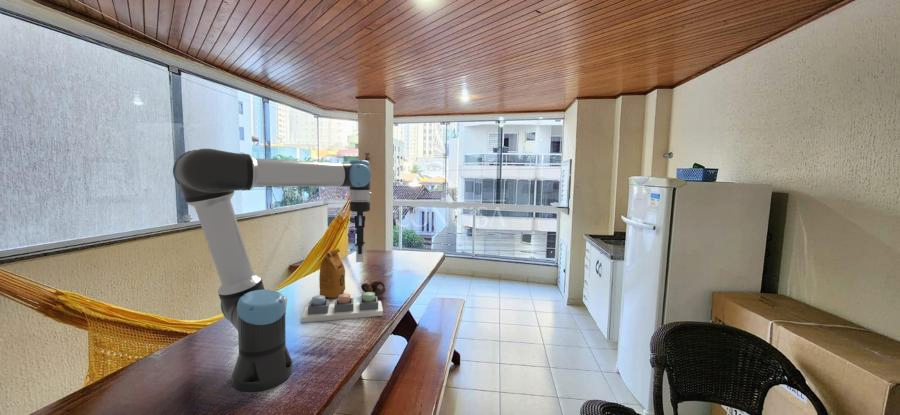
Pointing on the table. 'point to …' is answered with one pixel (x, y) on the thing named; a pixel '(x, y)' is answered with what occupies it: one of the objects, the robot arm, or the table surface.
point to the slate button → (318, 300)
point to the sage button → (368, 297)
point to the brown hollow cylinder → (374, 288)
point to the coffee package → (332, 275)
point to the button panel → (342, 310)
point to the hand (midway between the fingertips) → (359, 261)
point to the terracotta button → (344, 298)
